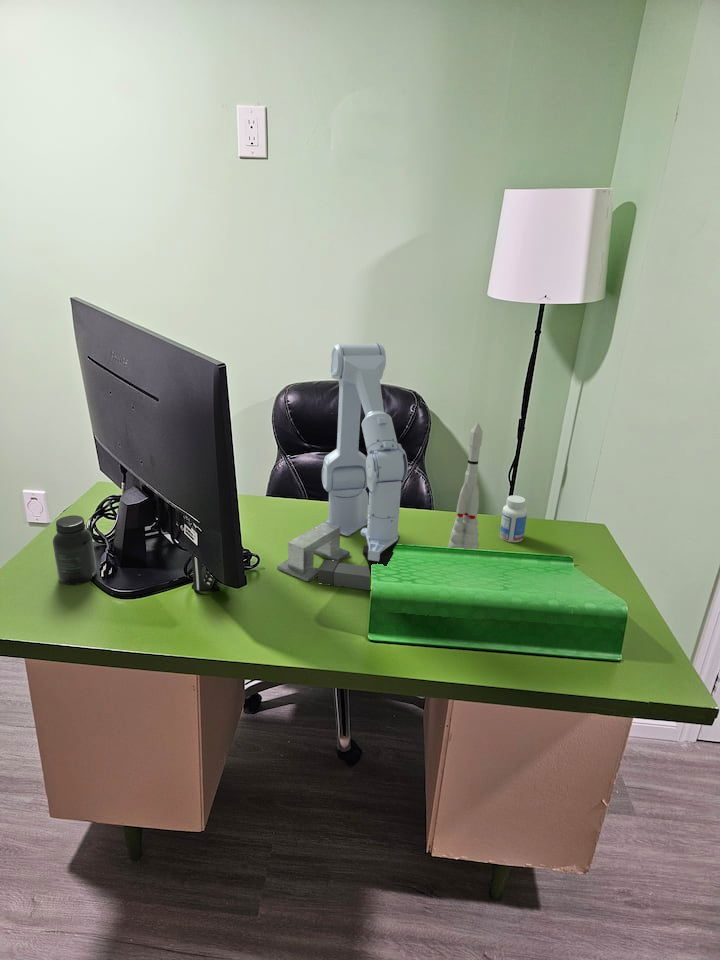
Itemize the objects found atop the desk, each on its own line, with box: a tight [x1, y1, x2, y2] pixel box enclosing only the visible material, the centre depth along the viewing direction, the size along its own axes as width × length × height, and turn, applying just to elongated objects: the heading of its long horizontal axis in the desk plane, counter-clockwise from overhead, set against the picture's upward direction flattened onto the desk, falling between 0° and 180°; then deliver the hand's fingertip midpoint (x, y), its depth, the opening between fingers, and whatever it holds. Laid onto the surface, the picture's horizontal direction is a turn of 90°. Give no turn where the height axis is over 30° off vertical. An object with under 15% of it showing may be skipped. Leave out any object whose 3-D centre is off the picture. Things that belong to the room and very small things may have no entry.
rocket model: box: [447, 422, 484, 550], centre depth 130 cm, size 7×7×30 cm
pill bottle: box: [499, 494, 528, 543], centre depth 143 cm, size 6×5×10 cm
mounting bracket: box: [276, 520, 351, 582], centre depth 130 cm, size 14×8×6 cm, turn 145°
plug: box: [317, 559, 370, 591], centre depth 123 cm, size 4×16×3 cm, turn 76°
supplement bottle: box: [52, 514, 97, 586], centre depth 120 cm, size 7×7×12 cm
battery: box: [190, 554, 216, 591], centre depth 120 cm, size 7×4×11 cm, turn 177°
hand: (379, 575), depth 122 cm, fingers closed on plug, 3 cm apart
